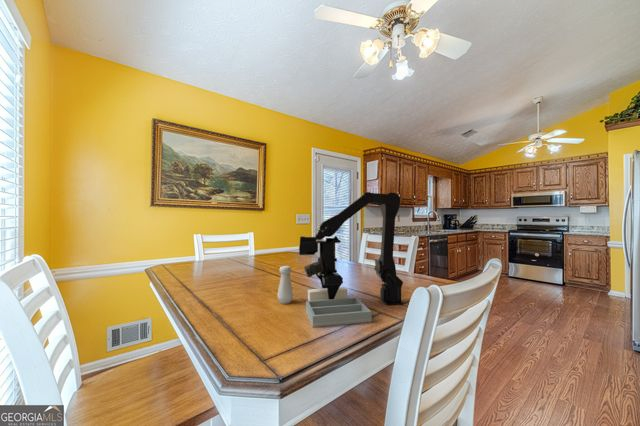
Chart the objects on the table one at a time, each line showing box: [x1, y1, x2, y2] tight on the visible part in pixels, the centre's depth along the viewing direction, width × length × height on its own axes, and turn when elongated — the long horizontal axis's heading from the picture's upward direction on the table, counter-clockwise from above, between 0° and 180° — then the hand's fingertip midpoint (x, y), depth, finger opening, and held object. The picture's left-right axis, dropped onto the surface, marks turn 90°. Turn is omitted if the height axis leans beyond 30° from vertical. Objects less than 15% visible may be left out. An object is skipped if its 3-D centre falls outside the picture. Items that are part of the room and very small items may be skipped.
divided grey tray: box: [305, 297, 373, 328], centre depth 79 cm, size 18×13×3 cm
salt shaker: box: [277, 265, 294, 305], centre depth 92 cm, size 6×6×13 cm
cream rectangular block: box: [307, 286, 348, 301], centre depth 91 cm, size 14×4×5 cm, turn 105°
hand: (327, 298), depth 91 cm, fingers open, 9 cm apart
